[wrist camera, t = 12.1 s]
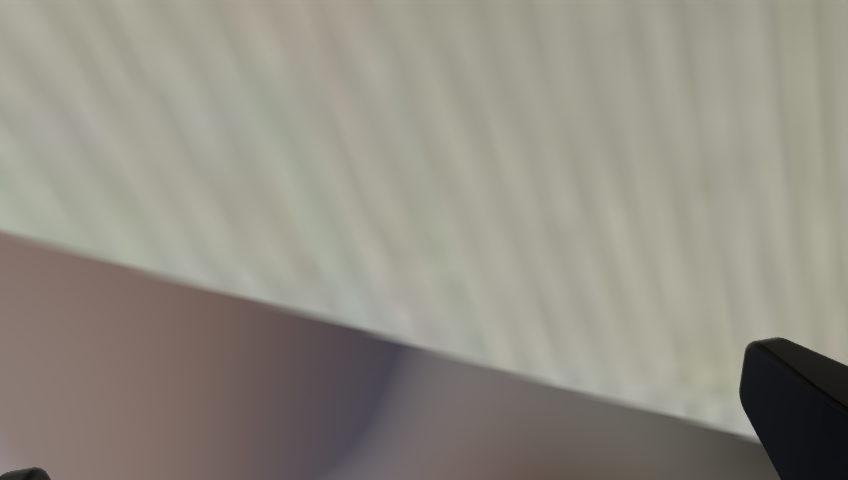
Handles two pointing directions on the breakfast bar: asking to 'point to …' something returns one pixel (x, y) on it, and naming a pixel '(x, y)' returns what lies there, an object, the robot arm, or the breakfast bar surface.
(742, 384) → the robot arm
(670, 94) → the breakfast bar surface
